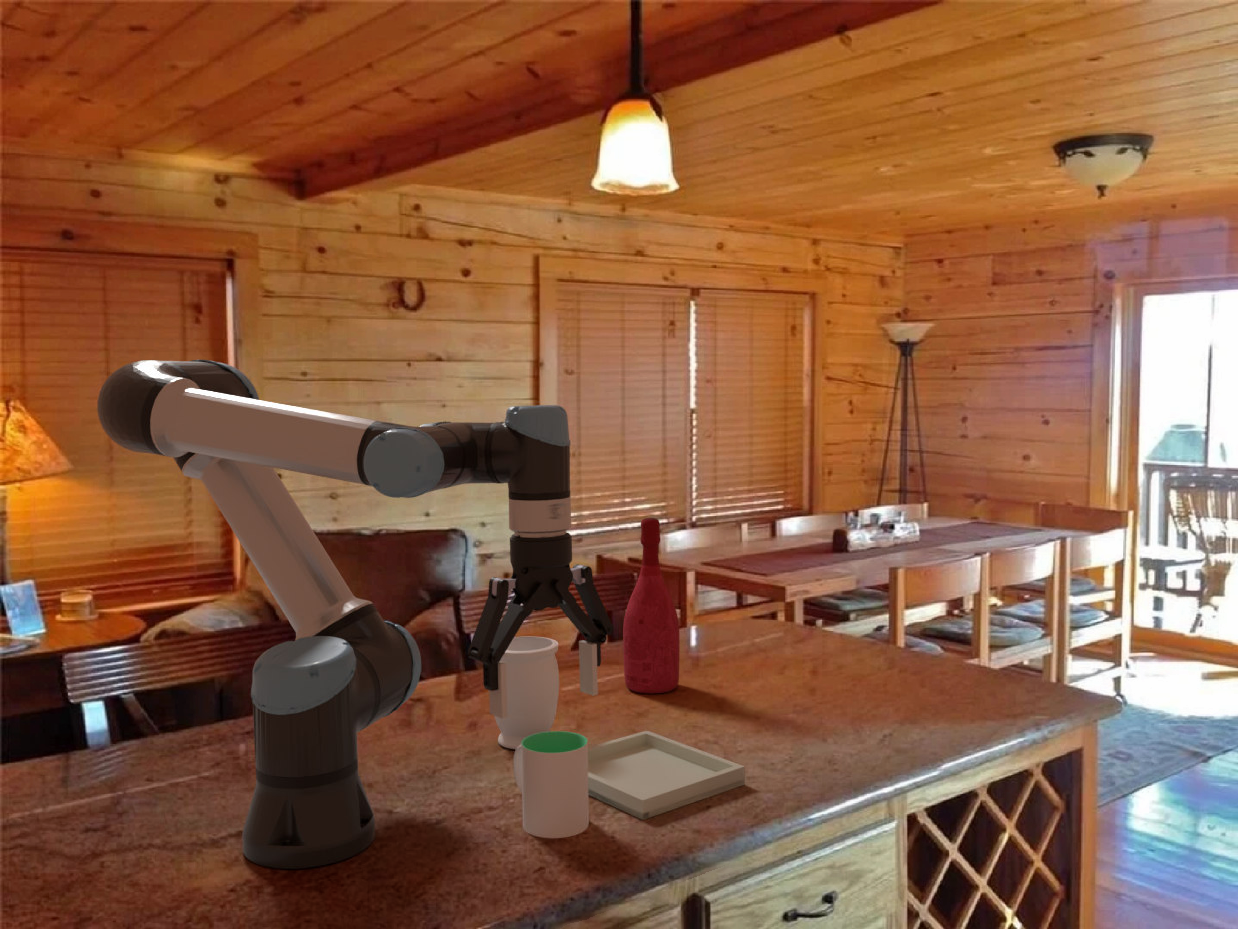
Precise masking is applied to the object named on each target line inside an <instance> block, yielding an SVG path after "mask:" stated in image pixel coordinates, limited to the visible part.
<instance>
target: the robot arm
mask: <svg viewBox="0 0 1238 929" xmlns="http://www.w3.org/2000/svg"><path fill="white" fill-rule="evenodd" d="M96 404H97V408H96V411H97V415H98V416H97V417H98V420H99V422H100V426H101V427H102V429H103V430H104V432H105V433H106V435H107V436H108V437H109V439H111V440H112V442H114V443H115V444H117V445H118V446H120V447H122V448H123V449H126V450H128V451H132V452H134V453H135V452H136V453H140V454H141V453H142V454H143V453H144V454H152V455H157V456H158V455H159V456H162V457H169V458H173V460H174V461H175V463H176V464H177V467H178V468H179V469H180V472H182V474H183V475H184V477H186V478H191V479H195V480H196V479H197V480H199V481H201V482H202V483H203V485H204V487H205V489H206V490H207V492H208V493H209V494H210V496H211V499H213V501H214V503H215V504H216V506H217V508H218V509H219V510H220V512H221V514H222V516H223V517H224V519H225V520H226V523H227V524H228V525H229V527H230V528H231V531H232V532H233V533H234V535H235V537H236V539H237V540H238V541H239V543H240V545H241V547H242V548H243V550H244V551H245V552H246V554H247V556H248V558H249V559H250V561H251V563H252V564H253V565H254V568H255V569H256V570H257V572H258V574H259V576H261V579H262V581H263V582H264V583H265V585H266V586H267V588H268V590H269V592H270V593H271V594H272V596H273V598H274V599H275V601H276V603H277V604H278V606H279V608H280V609H281V611H282V613H283V614H284V616H285V617H286V618H287V620H288V621H289V624H290V625H291V627H292V628H293V630H294V632H295V640H294V641H293V640H287V641H284V642H281V643H278V644H277V645H274V646H271V647H270V648H268V649H266V651H264V652H262V653H261V655H260V656H258V658H257V659H256V660H255V662H254V665H253V668H252V683H251V688H250V689H251V690H250V697H251V702H252V714H253V716H252V717H253V718H252V719H253V737H254V738H253V739H254V740H253V741H254V759H255V761H254V762H255V787H254V790H253V794H252V797H251V801H250V804H249V806H248V807H249V808H248V810H247V815H246V817H245V818H246V819H245V822H244V825H243V828H242V833H241V834H242V853H243V854H244V856H245V858H246V859H247V860H249V861H250V862H252V863H255V864H256V865H259V866H264V867H267V868H268V867H269V868H273V869H286V870H289V869H296V870H297V869H308V868H315V867H320V866H327V865H331V864H333V863H337V862H341V861H344V860H346V859H349V858H351V857H353V856H356V855H358V854H359V853H361V852H363V851H365V849H366V848H368V847H369V846H370V845H371V844H372V843H373V842H374V840H375V837H376V820H375V819H376V818H375V814H374V812H373V809H372V808H373V807H372V806H371V804H370V801H369V798H368V795H367V792H366V789H365V788H364V785H363V782H362V779H361V776H360V774H359V765H358V764H359V761H358V760H359V759H358V755H359V754H358V733H359V732H361V731H363V730H365V729H367V728H368V727H369V726H371V725H373V724H374V723H376V722H377V721H379V720H382V718H385V717H389V716H391V714H393V713H394V712H396V711H397V710H398V709H400V708H401V706H402V705H403V704H404V703H405V702H407V700H409V699H410V698H411V696H412V695H413V694H414V693H415V690H416V689H417V687H418V684H419V682H420V679H421V678H420V676H421V672H422V658H421V653H420V649H419V646H418V644H417V642H416V640H415V639H414V637H413V636H412V634H411V633H410V632H409V631H408V630H407V629H406V628H405V627H403V626H402V625H400V624H399V623H393V622H392V621H390V620H385V619H383V618H382V616H381V614H380V612H379V611H378V609H377V607H375V605H374V603H373V602H372V601H371V600H367V599H362V598H358V597H356V596H355V595H354V593H353V592H352V591H351V589H350V587H349V586H348V585H347V582H346V581H345V579H344V578H343V576H342V575H341V573H340V572H339V569H337V567H336V566H335V563H334V562H333V560H332V559H331V557H330V555H329V554H328V553H327V552H328V551H327V550H325V547H324V546H323V544H322V543H321V542H320V540H319V538H318V536H317V535H316V534H315V531H314V530H313V528H312V527H311V525H310V524H309V522H308V520H307V519H306V518H305V516H304V514H303V513H302V512H301V510H300V508H299V506H298V505H297V503H296V501H295V500H294V499H293V496H292V495H291V494H290V492H289V490H288V489H287V487H286V485H285V484H284V483H283V481H282V479H281V477H280V476H279V475H278V473H277V471H276V470H275V469H279V470H284V471H290V472H295V473H301V474H307V475H310V476H311V475H312V476H317V477H322V478H327V479H333V480H338V481H343V482H349V483H354V484H360V485H363V486H364V485H365V486H368V487H373V488H374V489H375V490H376V491H377V492H378V493H380V494H382V495H383V496H386V497H388V498H395V499H399V498H406V499H411V498H416V497H420V496H422V495H425V494H427V493H431V492H434V491H439V490H443V489H447V488H453V487H457V486H460V485H466V484H507V487H508V489H507V490H508V530H510V531H511V532H513V534H512V535H511V537H509V555H510V556H509V560H510V564H511V567H512V574H511V577H510V578H500V577H494V576H493V577H491V578H490V579H489V582H488V593H487V594H488V595H487V598H486V602H485V604H484V607H483V610H482V612H481V615H480V618H479V620H478V623H477V625H476V628H475V631H474V634H473V636H472V638H471V642H470V644H469V648H468V650H467V653H466V654H467V657H468V658H470V659H473V660H476V661H478V662H481V663H482V675H483V676H482V677H483V687H484V689H485V690H487V691H488V699H489V702H488V703H489V715H493V716H494V715H495V716H497V717H499V718H502V719H503V718H507V717H508V714H507V680H506V663H504V662H501V661H500V660H501V658H502V656H503V655H504V653H505V652H506V650H507V648H508V647H509V645H510V643H511V642H512V640H513V638H514V637H516V635H517V633H518V631H519V630H520V629H521V626H522V625H523V623H524V621H525V620H526V618H528V617H530V616H531V615H532V613H533V611H534V612H535V611H536V612H537V611H538V612H539V611H543V610H546V609H547V608H549V609H555V608H558V607H559V609H560V610H561V611H562V612H563V613H564V615H565V616H566V617H567V618H568V620H569V621H570V622H571V623H572V624H573V626H574V627H575V628H576V629H577V630H578V632H579V633H580V634H581V636H582V637H583V638H584V639H585V640H583V639H582V640H579V641H578V657H579V658H578V659H579V660H578V663H579V664H578V665H579V666H578V669H579V692H581V693H584V694H587V695H590V696H592V697H594V696H598V695H599V688H598V687H599V685H598V684H599V683H598V667H600V666H601V663H602V658H601V657H602V651H601V650H602V647H601V645H602V644H605V643H606V642H607V636H611V635H613V633H614V631H615V630H614V626H613V624H612V621H611V619H610V617H609V615H608V613H607V610H606V608H605V605H604V604H603V601H602V599H601V597H600V594H599V593H598V590H597V588H596V586H595V583H594V578H593V569H592V567H591V566H588V565H584V564H578V563H576V564H573V566H572V568H571V566H570V564H571V562H572V561H573V538H572V535H571V533H569V532H567V531H568V530H570V529H571V528H572V508H571V506H572V505H571V499H572V498H571V456H570V455H571V439H570V431H569V430H570V429H569V419H568V413H567V411H566V409H565V408H564V407H562V406H560V405H557V404H540V405H538V404H537V405H512V406H509V407H508V408H507V409H506V412H505V413H506V414H505V418H504V421H495V422H472V421H471V422H467V421H466V422H465V421H464V422H461V421H459V422H457V421H456V422H454V421H453V422H452V421H436V422H431V423H430V422H429V423H427V422H426V423H423V424H421V425H419V426H412V425H406V424H400V423H393V422H387V421H381V420H377V419H371V418H364V417H359V416H358V417H357V416H353V415H348V414H340V413H336V412H331V411H323V410H319V409H318V410H317V409H312V408H307V407H301V406H296V405H295V406H294V405H290V404H284V403H280V402H279V403H278V402H273V401H267V400H261V399H260V397H259V394H258V391H257V390H256V387H255V386H254V384H253V382H252V381H251V379H249V378H248V377H247V376H246V375H245V373H243V372H242V371H241V370H239V369H237V368H236V367H234V366H233V365H230V364H227V363H223V362H219V361H214V360H209V359H194V360H192V359H191V360H188V361H187V360H186V361H184V360H183V361H182V360H181V361H180V360H153V359H151V360H150V359H148V360H139V361H134V362H130V363H127V364H124V365H123V366H121V367H120V368H118V369H116V370H114V372H112V373H111V374H110V375H109V376H108V378H107V379H106V380H105V381H104V382H103V384H102V386H101V388H100V390H99V394H98V397H97V403H96ZM572 583H573V584H574V587H575V588H576V591H577V593H578V595H579V598H580V601H581V602H582V604H583V606H584V608H585V611H586V612H585V611H584V610H583V609H582V607H581V606H580V605H579V604H578V602H577V598H576V597H575V596H574V595H573V594H572V592H571V591H570V590H569V588H570V586H571V584H572ZM512 591H513V592H512ZM512 593H514V594H513V596H512V598H511V600H509V603H508V598H509V596H511V595H512ZM507 603H508V604H507ZM506 607H507V610H506ZM505 610H506V612H505ZM504 612H505V614H504ZM503 615H504V616H503ZM495 716H494V717H495Z"/></svg>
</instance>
